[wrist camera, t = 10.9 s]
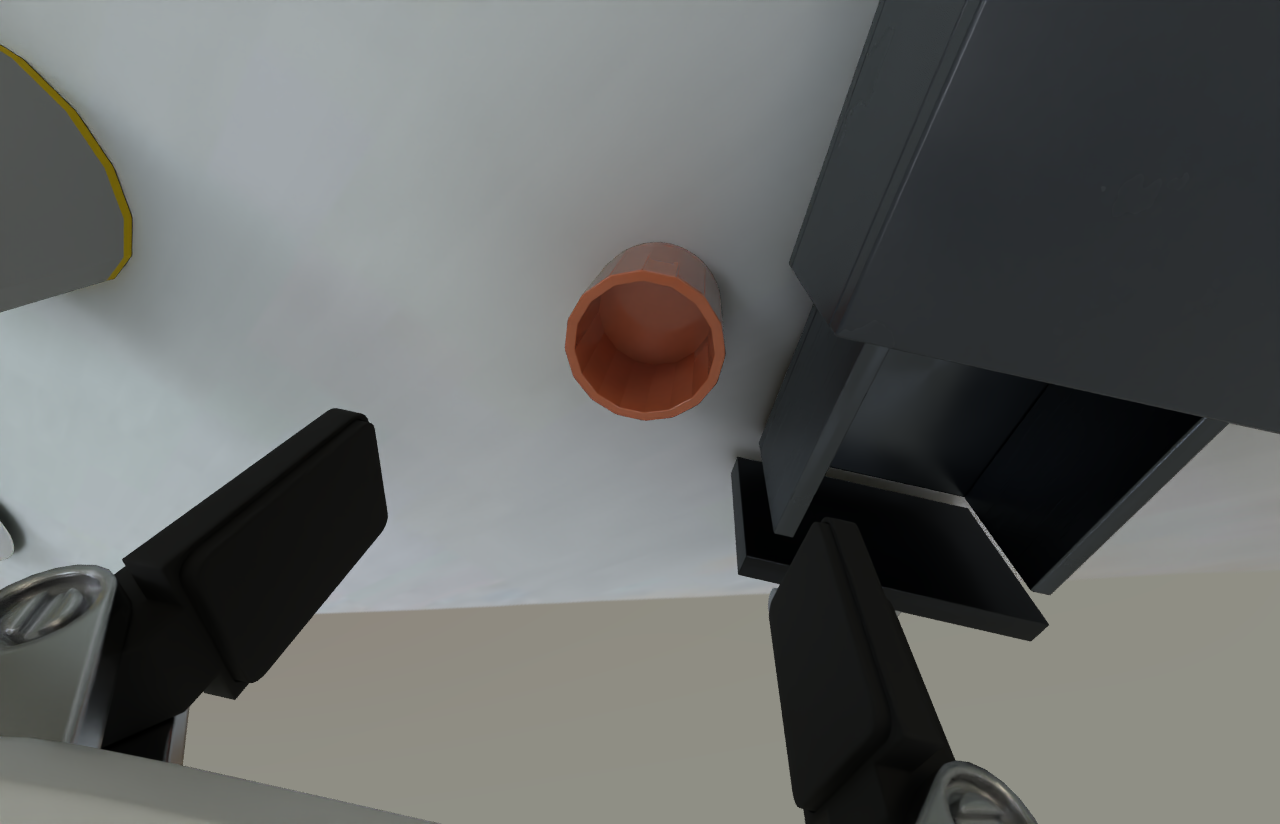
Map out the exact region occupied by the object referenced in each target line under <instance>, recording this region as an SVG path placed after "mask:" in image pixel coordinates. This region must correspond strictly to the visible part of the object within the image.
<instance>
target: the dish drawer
mask: <svg viewBox="0 0 1280 824" xmlns="http://www.w3.org/2000/svg"><path fill="white" fill-rule="evenodd" d="M1228 424H1229V423H1227V422H1222V421H1218V420H1213V419H1209V418H1204V417H1200V416H1195V415H1190V414H1186V413H1181V412H1177V411H1172V410H1168V409H1163V408H1159V407H1154V406H1149V405H1145V404H1140V403H1136V402H1131V401H1127V400H1122V399H1118V398H1113V397H1108V396H1104V395H1099V394H1095V393H1090V392H1086V391H1081V390H1077V389H1072V388H1067V387H1063V386H1058V385H1054V384H1049V383H1045V382H1040V381H1036V380H1031V379H1026V378H1022V377H1017V376H1013V375H1008V374H1004V373H999V372H995V371H990V370H985V369H981V368H976V367H972V366H967V365H963V364H958V363H954V362H949V361H944V360H940V359H935V358H931V357H926V356H922V355H917V354H913V353H908V352H903V351H899V350H894V349H890V348H885V347H881V346H876V345H872V344H867V343H862V342H858V341H853V340H849V339H844V338H840V337H837V336H835V334H834V333H833V331H832V330H831V328H830V327H829V326H828V325H827V323H826V322H825V320H824V318H823V317H822V315H821V314H820V312H819V311H818V309H817V307H816V306H815V304H813V307H812V309H811V312H810V314H809V317H808V320H807V322H806V325H805V327H804V330H803V332H802V335H801V337H800V340H799V342H798V345H797V347H796V350H795V353H794V355H793V358H792V360H791V363H790V365H789V368H788V370H787V373H786V375H785V378H784V380H783V383H782V386H781V388H780V391H779V393H778V396H777V398H776V401H775V403H774V406H773V408H772V411H771V413H770V416H769V419H768V421H767V424H766V426H765V429H764V431H763V434H762V436H761V439H760V441H759V445H760V451H761V458H762V462H759V461H754V460H750V459H745V458H741V457H737V459H736V462H735V464H734V467H733V470H732V473H731V478H732V493H733V508H734V522H735V537H736V552H737V566H738V575H742V576H746V577H750V578H755V579H759V580H764V581H768V582H772V583H777V584H781V582H782V580H783V578H784V576H785V574H786V572H787V570H788V568H789V567H790V565H791V563H792V561H793V559H794V557H795V555H796V553H797V552H798V550H799V548H800V546H801V544H802V542H803V540H804V538H805V536H806V535H807V533H808V531H809V529H810V527H811V525H812V524H813V523H814V522H821V521H822V519H823V518H825V517H831V518H835V519H840V520H844V521H849V522H853V523H855V524H856V525H857V526H858V528H859V530H860V533H861V535H862V538H863V540H864V543H865V545H866V548H867V550H868V553H869V555H870V558H871V560H872V563H873V565H874V568H875V570H876V573H877V576H878V578H879V581H880V583H881V586H882V588H883V591H884V593H885V596H886V598H887V599H888V600H889V601H890V602H891V604H892V606H893V608H894V610H895V612H896V615H897V617H898V616H899V614H900V613H901V612H904V613H908V614H913V615H917V616H921V617H926V618H930V619H935V620H939V621H943V622H948V623H952V624H957V625H961V626H965V627H970V628H974V629H979V630H983V631H987V632H992V633H996V634H1000V635H1005V636H1009V637H1013V638H1018V639H1022V640H1027V641H1032V640H1033V639H1034V638H1035V637H1037V636H1038V635H1039V634H1040V633H1041V632H1042V631H1043V630H1044V629H1045V628H1046V627H1048V625H1049V624H1048V622H1047V621H1046V620H1045V618H1044V617H1043V615H1042V614H1041V612H1040V611H1039V609H1038V608H1037V607H1036V605H1035V604H1034V602H1033V601H1032V599H1031V598H1030V597H1029V595H1028V594H1027V592H1026V591H1025V590H1024V588H1023V587H1022V585H1021V584H1020V582H1019V581H1018V579H1017V578H1016V577H1015V575H1014V574H1013V572H1012V571H1011V569H1010V568H1009V567H1008V565H1007V564H1006V562H1005V561H1004V559H1003V558H1002V557H1001V555H1000V554H999V552H998V551H997V549H996V548H995V547H994V545H993V544H992V542H991V541H990V539H989V538H988V537H987V535H986V534H985V532H984V531H983V529H982V528H981V527H980V525H979V524H978V522H977V521H976V519H975V518H974V517H973V515H972V514H971V512H970V511H969V509H968V508H964V507H959V506H955V505H950V504H946V503H942V502H937V501H933V500H928V499H924V498H919V497H915V496H910V495H906V494H901V493H897V492H893V491H888V490H884V489H879V488H875V487H870V486H866V485H861V484H857V483H852V482H848V481H843V480H839V479H835V478H830V477H826V476H825V474H826V472H827V470H828V468H829V467H832V468H837V469H841V470H846V471H850V472H855V473H859V474H863V475H868V476H872V477H877V478H881V479H886V480H890V481H895V482H899V483H904V484H908V485H913V486H917V487H921V488H926V489H930V490H935V491H939V492H944V493H948V494H953V495H957V496H962V497H965V499H966V500H967V502H968V503H969V505H970V506H971V507H972V509H973V510H974V512H975V513H976V514H977V516H978V517H979V519H980V520H981V521H982V523H983V524H984V526H985V527H986V528H987V530H988V531H989V533H990V534H991V535H992V537H993V538H994V540H995V541H996V542H997V544H998V545H999V547H1000V548H1001V550H1002V551H1003V552H1004V554H1005V555H1006V557H1007V558H1008V559H1009V561H1010V562H1011V564H1012V565H1013V566H1014V568H1015V569H1016V571H1017V572H1018V573H1019V575H1020V576H1021V578H1022V579H1023V580H1024V582H1025V583H1026V585H1027V586H1028V587H1029V589H1030V590H1031V591H1033V592H1037V593H1042V594H1046V595H1051V594H1052V593H1053V592H1054V591H1055V590H1056V589H1057V588H1058V587H1059V586H1060V585H1061V584H1062V583H1063V582H1064V581H1066V580H1067V579H1068V578H1069V577H1070V576H1071V575H1072V574H1073V573H1074V572H1075V571H1076V570H1077V569H1078V568H1079V567H1080V566H1081V565H1082V564H1083V563H1084V562H1085V561H1086V560H1087V559H1088V558H1089V557H1090V556H1092V555H1093V554H1094V553H1095V552H1096V551H1097V550H1098V549H1099V548H1100V547H1101V546H1102V545H1103V544H1104V543H1105V542H1106V541H1107V540H1108V539H1109V538H1110V537H1111V536H1112V535H1113V534H1114V533H1115V532H1116V531H1118V530H1119V529H1120V528H1121V527H1122V526H1123V525H1124V524H1125V523H1126V522H1127V521H1128V520H1129V519H1130V518H1131V517H1132V516H1133V515H1134V514H1135V513H1136V512H1137V511H1138V510H1139V509H1140V508H1141V507H1142V506H1144V505H1145V504H1146V503H1147V502H1148V501H1149V500H1150V499H1151V498H1152V497H1153V496H1154V495H1155V494H1156V493H1157V492H1158V491H1159V490H1160V489H1161V488H1162V487H1163V486H1164V485H1165V484H1166V483H1167V482H1169V481H1170V480H1171V479H1172V478H1173V477H1174V476H1175V475H1176V474H1177V473H1178V472H1179V471H1180V470H1181V469H1182V468H1183V467H1184V466H1185V465H1186V464H1187V463H1188V462H1189V461H1190V460H1191V459H1192V458H1193V457H1195V456H1196V455H1197V454H1198V453H1199V452H1200V451H1201V450H1202V449H1203V448H1204V447H1205V446H1206V445H1207V444H1208V443H1209V442H1210V441H1211V440H1212V439H1213V438H1214V437H1215V436H1216V435H1217V434H1218V433H1219V432H1221V431H1222V430H1223V429H1224V428H1225V427H1226V426H1227V425H1228ZM777 589H778V588H773V589H772V590H771V593H770V596H769V601H768V609H769V608H770V604H771V601H772V599H773V597H774V595H775V593H776V591H777Z"/></svg>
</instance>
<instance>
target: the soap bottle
mask: <svg viewBox="0 0 1280 824" xmlns="http://www.w3.org/2000/svg"><path fill="white" fill-rule="evenodd" d="M131 247H132V217H131V214H130V211H129V208H128V206H127V203H126V200H125V198H124V195H123V192H122V189H121V187H120V184H119V181H118V179H117V176H116V173H115V171H114V168H113V166H112V165H111V163H110V162H109V160H108V159H107V157H106V156H105V154H104V153H103V151H102V150H101V148H100V147H99V145H98V144H97V142H96V141H95V139H94V138H93V136H92V135H91V133H90V132H89V130H88V129H87V127H86V126H85V125H84V123H83V122H82V120H81V119H80V117H79V116H78V114H77V113H76V111H75V110H74V109H73V108H72V107H71V106H70V105H69V104H68V103H67V102H66V101H65V100H64V99H63V98H62V97H61V96H60V95H59V94H58V93H57V92H56V91H55V90H54V89H53V88H52V87H51V86H49V85H48V84H47V83H46V82H45V81H44V80H43V79H42V78H41V77H40V76H39V75H38V74H37V73H36V72H35V71H34V70H33V69H32V68H31V67H30V66H29V65H28V64H27V63H26V62H25V61H24V60H23V59H22V58H20V57H19V56H17V55H15V54H14V53H12V52H11V51H9V50H7V49H6V48H4V47H3V46H1V45H0V312H3V311H7V310H10V309H13V308H17V307H20V306H23V305H27V304H30V303H33V302H37V301H40V300H43V299H47V298H50V297H53V296H57V295H60V294H63V293H67V292H70V291H74V290H77V289H80V288H84V287H87V286H90V285H94V284H97V283H100V282H104V281H107V280H111V279H115V277H116V276H117V274H118V273H119V272H120V270H121V269H122V268H123V266H124V265H125V264H126V262H127V261H128V260H129V258H130V257H131Z"/></svg>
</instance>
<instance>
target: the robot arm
mask: <svg viewBox="0 0 1280 824" xmlns="http://www.w3.org/2000/svg"><path fill="white" fill-rule="evenodd" d="M387 519H388V512H387V506H386V499H385V493H384V486H383V480H382V473H381V466H380V460H379V453H378V447H377V440H376V434H375V428H374V426H373V424H372V423H369V422H368V418H367V417H366V416H365V415H363V414H361V413H356V412H352V411H347V410H343V409H338V408H333V409H330V410H328V411H327V412H325V413H324V414H323V415H321V416H320V417H318V418H317V419H316V420H314V421H313V422H311V423H310V424H309V425H307V426H306V427H305V428H303V429H302V430H300V431H299V432H298V433H296V434H295V435H293V436H292V437H291V438H289V439H288V440H287V441H285V442H284V443H282V444H281V445H280V446H278V447H277V448H275V449H274V450H273V451H271V452H270V453H269V454H267V455H266V456H264V457H263V458H262V459H260V460H259V461H257V462H256V463H255V464H253V465H252V466H251V467H249V468H248V469H246V470H245V471H244V472H242V473H241V474H239V475H238V476H237V477H235V478H234V479H233V480H231V481H230V482H228V483H227V484H226V485H224V486H223V487H221V488H220V489H219V490H217V491H216V492H215V493H213V494H212V495H210V496H209V497H208V498H206V499H205V500H203V501H202V502H201V503H199V504H198V505H197V506H195V507H194V508H192V509H191V510H190V511H188V512H187V513H185V514H184V515H183V516H181V517H180V518H179V519H177V520H176V521H174V522H173V523H172V524H170V525H169V526H167V527H166V528H165V529H163V530H162V531H161V532H159V533H158V534H156V535H155V536H154V537H152V538H151V539H149V540H148V541H147V542H145V543H144V544H143V545H141V546H140V547H138V548H137V549H136V550H134V551H133V552H131V553H130V554H129V555H127V556H126V557H125V558H123V559H122V560H123V562H124V564H125V565H126V566H125V567H124V568H122V569H121V570H120V571H118V572H117V573H116V574H114V575H113V573H112V572H111V571H110V570H109V569H106V568H103V567H100V566H97V565H72V566H66V567H59V568H54V569H51V570H48V571H44V572H41V573H38V574H34V575H31V576H29V577H27V578H24V579H22V580H20V581H18V582H15V583H13V584H11V585H8V586H6V587H5V588H3V589H1V590H0V824H440V823H436V822H431V821H427V820H423V819H418V818H414V817H410V816H405V815H401V814H396V813H392V812H388V811H383V810H378V809H375V808H370V807H366V806H361V805H357V804H353V803H347V802H343V801H339V800H335V799H330V798H326V797H321V796H317V795H312V794H308V793H304V792H299V791H295V790H290V789H286V788H281V787H277V786H272V785H268V784H263V783H259V782H255V781H250V780H246V779H241V778H237V777H232V776H227V775H223V774H219V773H214V772H210V771H205V770H201V769H197V768H192V767H187V766H183V758H184V749H185V740H186V732H187V723H188V714H189V707H190V705H191V704H192V703H193V702H194V701H195V700H196V699H197V698H198V696H199V695H200V694H201V693H202V692H203V691H204V693H207V694H212V695H216V696H221V697H224V698H229V699H233V700H235V699H236V698H237V697H238V696H239V695H240V693H241V692H242V691H243V689H245V687H246V686H247V685H248V684H249V683H254V682H256V681H258V680H259V679H260V678H262V677H263V676H264V675H265V674H266V672H267V671H268V670H269V669H270V668H271V666H272V665H273V664H274V663H275V662H276V660H277V659H278V658H279V657H280V655H281V654H282V653H283V652H284V650H285V649H286V648H287V647H288V646H289V644H290V643H291V642H292V641H293V640H294V638H295V637H296V636H297V635H298V634H299V632H300V631H301V630H302V629H303V627H304V626H305V625H306V624H307V623H308V621H309V620H310V619H311V618H312V616H313V615H314V614H315V613H316V612H317V610H318V609H319V608H320V607H321V606H322V604H323V603H324V602H325V601H326V599H327V598H328V597H329V596H330V595H331V593H332V592H333V591H334V590H335V588H336V587H337V586H338V585H339V584H340V582H341V581H342V580H343V579H344V578H345V576H346V575H347V574H348V573H349V571H350V570H351V569H352V568H353V567H354V565H355V564H356V563H357V562H358V560H359V559H360V558H361V557H362V556H363V554H364V553H365V552H366V551H367V549H368V548H369V547H370V546H371V545H372V543H373V542H374V541H375V540H376V539H377V537H378V536H379V535H380V534H381V532H382V531H383V529H384V528H385V526H386V523H387ZM769 621H770V628H771V636H772V643H773V650H774V658H775V666H776V673H777V681H778V688H779V695H780V702H781V710H782V718H783V725H784V733H785V739H786V747H787V754H788V762H789V770H790V777H791V784H792V792H793V796H794V800H795V803H796V805H797V807H799V808H802V809H803V810H804V816H805V823H806V824H1038V823H1037V821H1036V820H1035V818H1034V817H1033V815H1032V814H1031V813H1030V811H1029V810H1028V809H1027V807H1026V806H1025V805H1024V804H1023V802H1022V801H1021V800H1020V798H1018V796H1017V795H1016V794H1015V793H1014V792H1013V791H1012V790H1010V788H1009V787H1007V785H1006V784H1004V783H1003V782H1002V781H1001V780H999V779H998V778H997V777H995V776H994V775H993V774H991V773H990V772H988V771H987V770H985V769H983V768H981V767H979V766H977V765H974V764H972V763H970V762H963V761H956V760H955V758H954V756H953V754H952V751H951V749H950V746H949V744H948V741H947V739H946V736H945V734H944V731H943V729H942V726H941V724H940V721H939V719H938V716H937V714H936V712H935V709H934V706H933V704H932V701H931V699H930V696H929V694H928V692H927V689H926V687H925V684H924V682H923V679H922V677H921V674H920V672H919V669H918V667H917V664H916V662H915V659H914V657H913V654H912V652H911V649H910V647H909V644H908V642H907V639H906V637H905V635H904V632H903V629H902V627H901V625H900V622H899V620H898V617H897V615H896V612H895V610H894V608H893V606H892V604H891V602H890V601H889V600H888V599H887V598H886V596H885V593H884V591H883V588H882V586H881V583H880V581H879V578H878V576H877V573H876V570H875V568H874V565H873V563H872V560H871V558H870V555H869V553H868V550H867V548H866V545H865V543H864V540H863V538H862V535H861V533H860V530H859V528H858V526H857V525H856V524H855V523H853V522H849V521H844V520H840V519H835V518H831V517H825V518H823V519H822V521H821V522H814V523H813V524H812V525H811V527H810V529H809V531H808V533H807V535H806V536H805V538H804V540H803V542H802V544H801V546H800V548H799V550H798V552H797V553H796V555H795V557H794V559H793V561H792V563H791V565H790V567H789V568H788V570H787V572H786V574H785V576H784V578H783V580H782V582H781V584H780V585H779V587H778V589H777V591H776V593H775V595H774V597H773V599H772V601H771V604H770V608H769Z"/></svg>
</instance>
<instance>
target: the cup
mask: <svg viewBox="0 0 1280 824" xmlns="http://www.w3.org/2000/svg"><path fill="white" fill-rule="evenodd" d="M565 351H566V355H567V358H568V361H569V364H570V367H571V370H572V374H573V376H574V378H575V379H576V380H577V382H578V383H579V384H580V385H581V387H582V388H583V389H584V390H585V392H586V393H587V394H588V395H589V397H590V398H591V399H592V400H594V401H595V402H597V403H598V404H600V405H602V406H603V407H605V408H607V409H608V410H610V411H611V412H613V413H615V414H617V415H621V416H625V417H630V418H634V419H639V420H645V421H647V420H655V419H664V418H672V417H675V416H677V415H679V414H681V413H683V412H685V411H686V410H688V409H690V408H692V407H694V406H696V405H698V404H699V403H700V402H701V401H702V400H703V399H704V397H705V396H706V395H707V394H708V393H709V392H710V390H711V389H712V388H713V387H714V386H715V385H716V383H717V382H718V379H719V375H720V372H721V369H722V366H723V362H724V359H725V354H726V351H725V339H724V326H723V314H722V306H721V297H720V290H719V287H718V285H717V282H716V280H715V278H714V276H713V274H712V273H711V271H710V270H709V268H708V267H707V266H706V265H705V264H704V263H703V262H702V260H700V259H699V258H698V257H697V256H696V255H694V254H693V253H691V252H690V251H688V250H686V249H684V248H682V247H679V246H676V245H673V244H669V243H662V242H651V243H643V244H640V245H636V246H633V247H631V248H629V249H627V250H625V251H623V252H622V253H620V254H619V255H617V256H616V257H615V258H614V259H613V260H612V261H610V262H609V263H608V264H607V265H606V266H605V267H604V268H603V270H602V271H601V272H600V273H599V275H598V276H597V277H596V278H595V280H594V281H593V282H592V283H591V285H590V286H589V287H588V288H587V290H586V291H585V292H584V293H583V295H582V296H581V298H580V300H579V301H578V303H577V305H576V306H575V308H574V310H573V312H572V313H571V315H570V317H569V318H568V322H567V331H566V341H565Z"/></svg>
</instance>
